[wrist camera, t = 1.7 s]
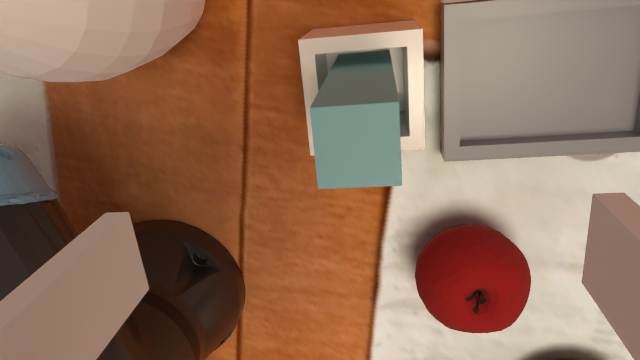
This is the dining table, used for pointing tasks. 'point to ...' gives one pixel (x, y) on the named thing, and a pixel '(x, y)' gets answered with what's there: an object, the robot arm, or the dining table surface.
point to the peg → (357, 123)
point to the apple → (473, 279)
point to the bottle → (89, 36)
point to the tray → (539, 78)
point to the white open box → (394, 36)
